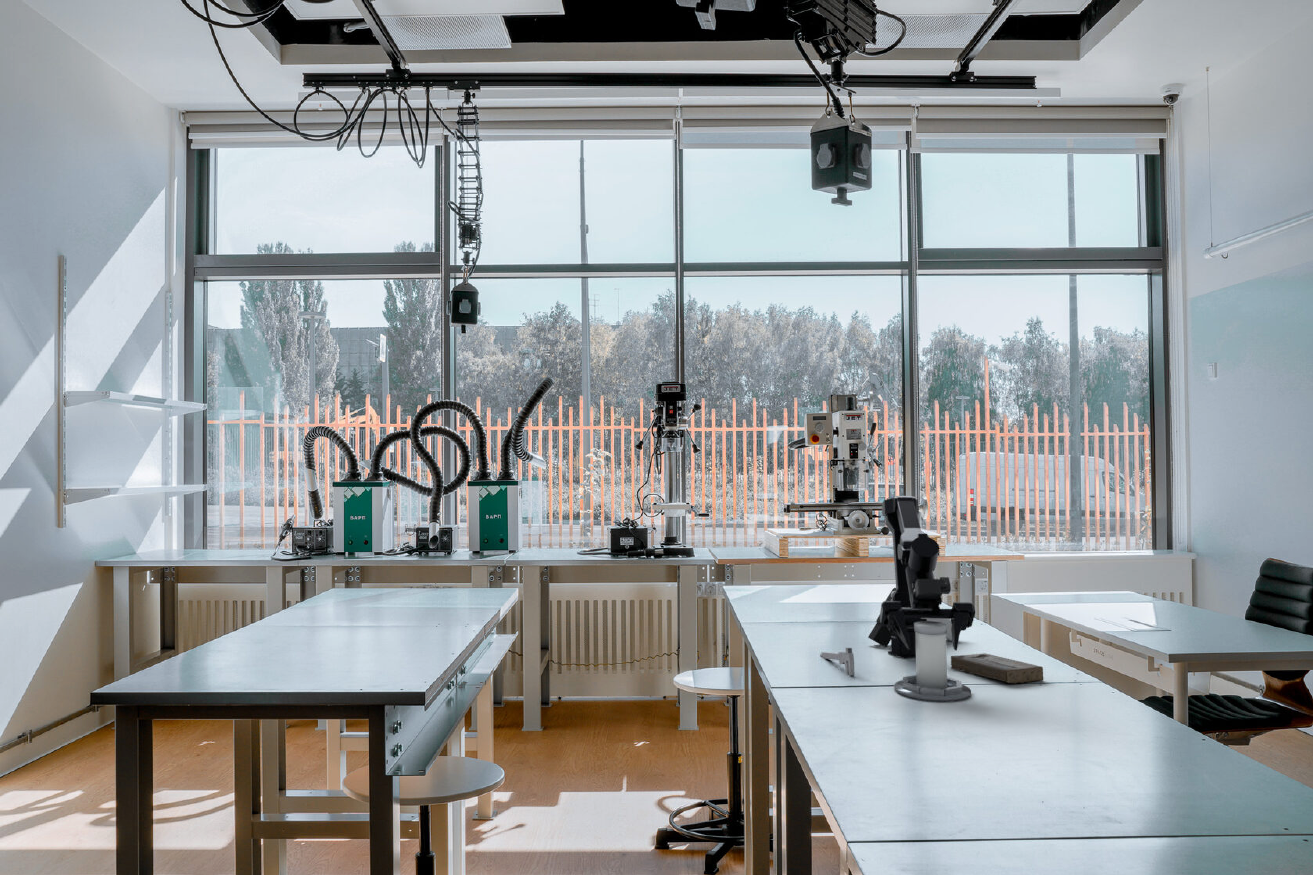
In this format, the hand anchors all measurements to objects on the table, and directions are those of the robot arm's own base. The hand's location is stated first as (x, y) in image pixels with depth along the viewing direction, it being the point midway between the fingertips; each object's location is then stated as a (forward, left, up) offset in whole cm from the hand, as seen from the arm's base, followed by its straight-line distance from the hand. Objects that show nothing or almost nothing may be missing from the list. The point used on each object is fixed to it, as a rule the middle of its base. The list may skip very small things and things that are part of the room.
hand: (932, 648), depth 169 cm
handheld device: (-32, -37, -9) cm, 50 cm away
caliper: (+2, -28, -10) cm, 30 cm away
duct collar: (-1, -1, -9) cm, 9 cm away
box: (-24, -5, -10) cm, 26 cm away
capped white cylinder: (-1, -1, -8) cm, 8 cm away
